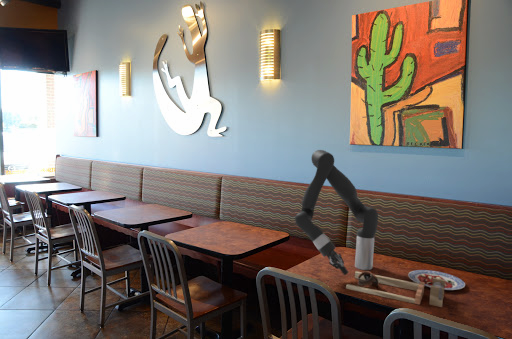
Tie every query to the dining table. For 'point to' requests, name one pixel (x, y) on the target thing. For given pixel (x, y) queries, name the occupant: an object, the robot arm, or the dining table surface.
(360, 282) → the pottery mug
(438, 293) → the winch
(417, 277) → the ceramic plate
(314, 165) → the robot arm
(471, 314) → the dining table surface
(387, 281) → the bay
